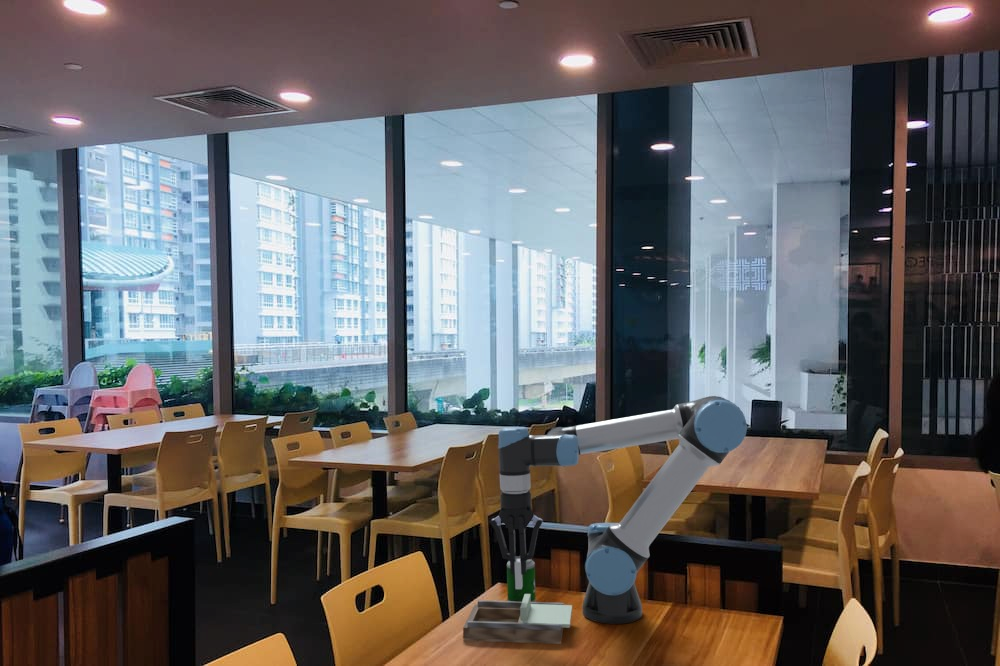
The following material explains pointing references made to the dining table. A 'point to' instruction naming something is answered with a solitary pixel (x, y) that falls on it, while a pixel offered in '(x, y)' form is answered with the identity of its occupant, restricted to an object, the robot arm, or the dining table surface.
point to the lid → (545, 613)
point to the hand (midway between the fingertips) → (519, 587)
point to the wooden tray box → (508, 624)
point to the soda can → (528, 583)
